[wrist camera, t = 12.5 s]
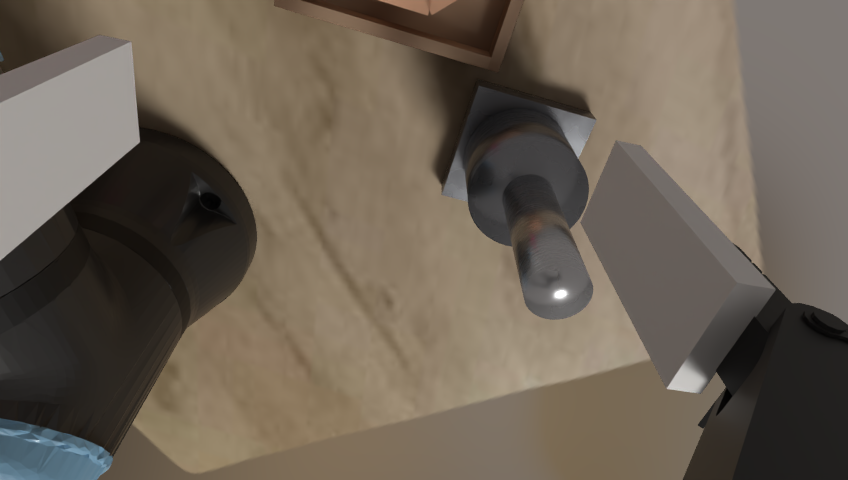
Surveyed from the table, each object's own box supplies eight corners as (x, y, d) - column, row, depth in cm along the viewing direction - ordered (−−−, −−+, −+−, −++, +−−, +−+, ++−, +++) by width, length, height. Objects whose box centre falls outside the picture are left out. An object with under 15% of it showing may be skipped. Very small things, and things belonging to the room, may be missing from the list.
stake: (441, 185, 38) (444, 338, 25) (477, 78, 34) (504, 193, 20) (543, 212, 39) (600, 373, 26) (590, 112, 35) (688, 242, 21)
